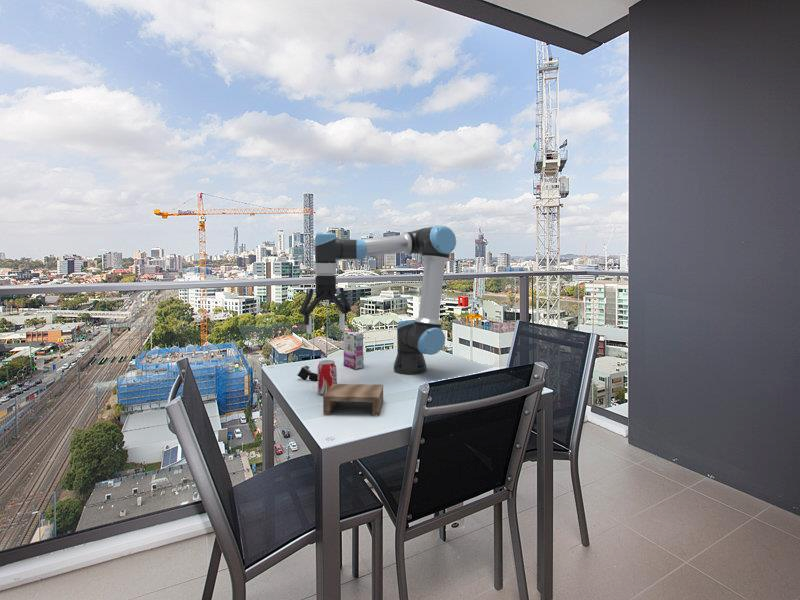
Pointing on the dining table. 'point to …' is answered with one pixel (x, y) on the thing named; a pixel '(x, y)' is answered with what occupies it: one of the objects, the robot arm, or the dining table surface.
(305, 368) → the lighter
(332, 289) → the robot arm
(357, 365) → the candy bar box
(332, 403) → the walnut shelf
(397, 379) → the dining table surface
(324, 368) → the soda can
